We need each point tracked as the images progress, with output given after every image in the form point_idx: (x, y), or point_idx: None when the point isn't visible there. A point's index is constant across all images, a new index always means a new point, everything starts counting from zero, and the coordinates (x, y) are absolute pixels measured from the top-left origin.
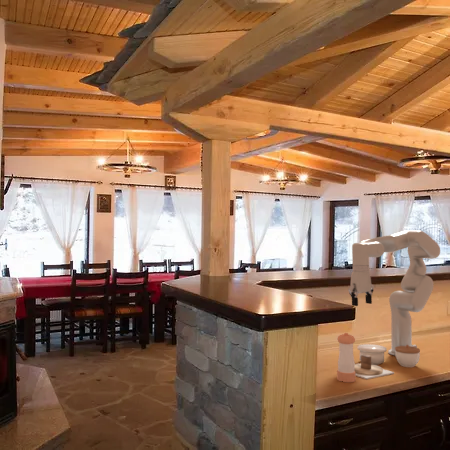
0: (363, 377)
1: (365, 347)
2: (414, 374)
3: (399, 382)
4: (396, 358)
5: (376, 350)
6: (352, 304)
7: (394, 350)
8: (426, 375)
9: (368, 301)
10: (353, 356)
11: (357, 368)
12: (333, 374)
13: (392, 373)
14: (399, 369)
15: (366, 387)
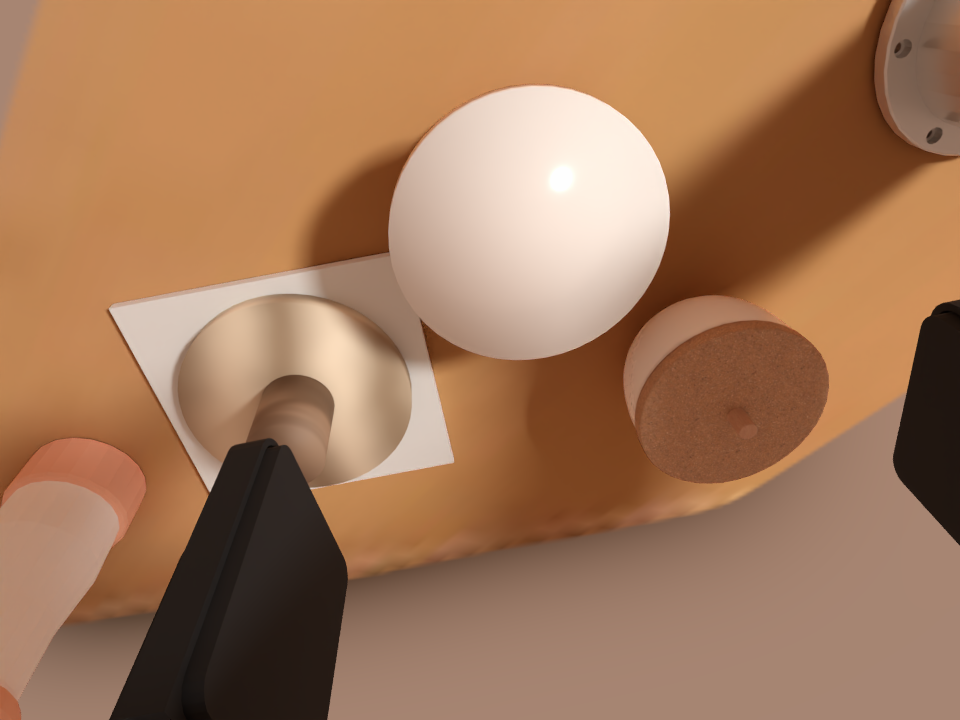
0: (208, 488)
1: (466, 222)
2: (552, 491)
3: (370, 565)
4: (638, 338)
5: (482, 351)
6: (237, 470)
7: (935, 37)
8: (596, 516)
9: (947, 448)
10: (64, 621)
11: (226, 402)
12: (37, 375)
13: (439, 461)
14: (555, 399)
15: (153, 586)
